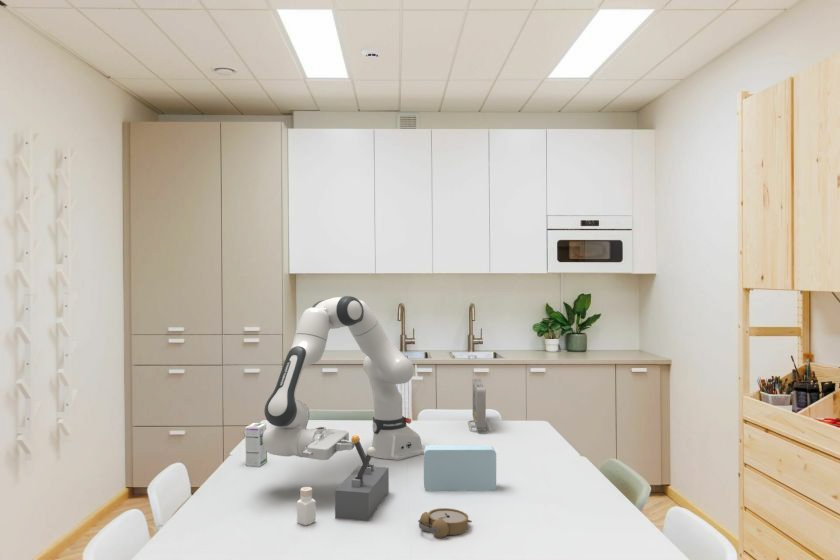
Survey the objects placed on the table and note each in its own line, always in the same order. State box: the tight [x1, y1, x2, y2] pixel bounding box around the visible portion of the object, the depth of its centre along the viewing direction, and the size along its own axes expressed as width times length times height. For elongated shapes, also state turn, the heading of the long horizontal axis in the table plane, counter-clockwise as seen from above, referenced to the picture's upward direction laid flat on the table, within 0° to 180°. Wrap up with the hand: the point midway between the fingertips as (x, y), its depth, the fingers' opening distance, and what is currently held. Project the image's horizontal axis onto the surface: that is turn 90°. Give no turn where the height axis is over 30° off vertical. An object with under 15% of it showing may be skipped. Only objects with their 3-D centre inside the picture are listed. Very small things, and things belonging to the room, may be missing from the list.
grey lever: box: [356, 446, 376, 481], centre depth 171 cm, size 3×3×12 cm
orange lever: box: [350, 434, 371, 467], centre depth 183 cm, size 3×3×12 cm
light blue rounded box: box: [423, 444, 497, 492], centre depth 191 cm, size 23×6×13 cm, turn 90°
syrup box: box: [244, 422, 268, 468], centre depth 215 cm, size 6×6×14 cm
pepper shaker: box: [296, 486, 317, 526], centre depth 165 cm, size 4×4×10 cm
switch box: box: [334, 463, 390, 522], centre depth 177 cm, size 10×22×10 cm, turn 168°
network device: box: [467, 378, 490, 433], centre depth 267 cm, size 26×9×20 cm, turn 179°
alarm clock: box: [417, 507, 473, 538], centre depth 160 cm, size 11×5×15 cm
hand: (353, 445), depth 183 cm, fingers closed
